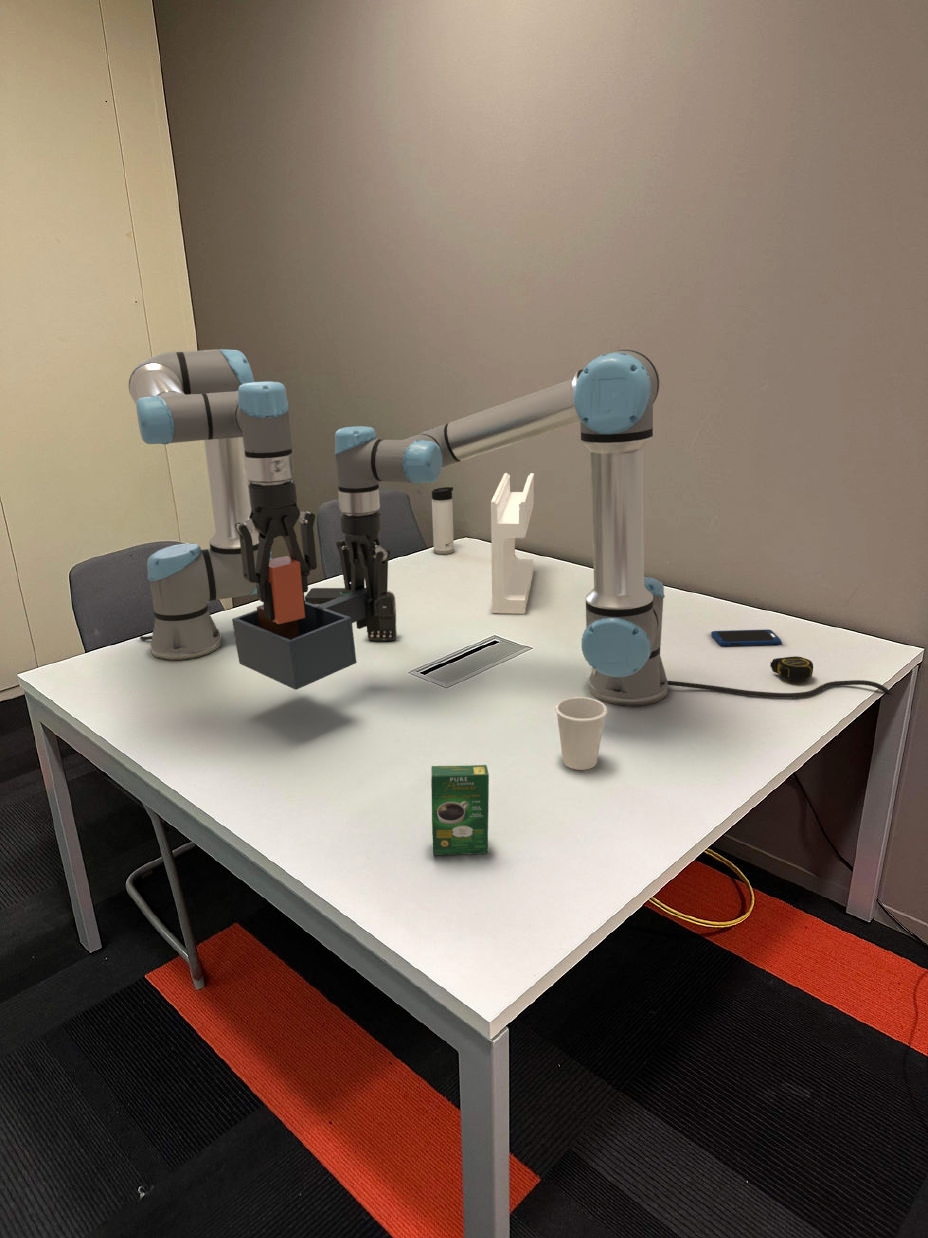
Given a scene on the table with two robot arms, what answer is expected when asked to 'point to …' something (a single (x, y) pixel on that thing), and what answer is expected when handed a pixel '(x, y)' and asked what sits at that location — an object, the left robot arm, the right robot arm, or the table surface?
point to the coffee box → (460, 809)
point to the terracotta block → (286, 589)
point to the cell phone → (746, 637)
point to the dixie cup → (580, 731)
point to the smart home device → (324, 594)
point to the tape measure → (793, 668)
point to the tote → (303, 642)
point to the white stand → (510, 546)
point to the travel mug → (442, 520)
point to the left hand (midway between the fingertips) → (285, 614)
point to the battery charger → (386, 620)
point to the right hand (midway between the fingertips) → (368, 628)
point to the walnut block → (277, 625)
